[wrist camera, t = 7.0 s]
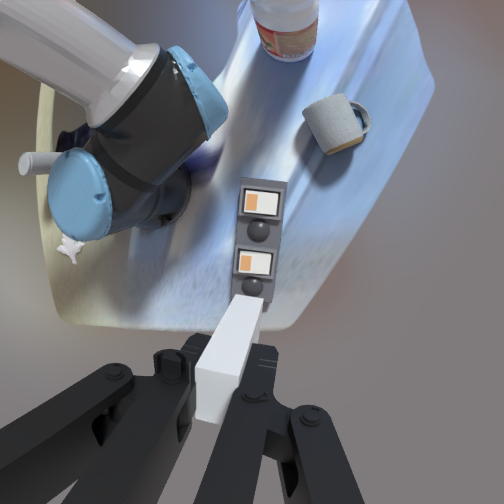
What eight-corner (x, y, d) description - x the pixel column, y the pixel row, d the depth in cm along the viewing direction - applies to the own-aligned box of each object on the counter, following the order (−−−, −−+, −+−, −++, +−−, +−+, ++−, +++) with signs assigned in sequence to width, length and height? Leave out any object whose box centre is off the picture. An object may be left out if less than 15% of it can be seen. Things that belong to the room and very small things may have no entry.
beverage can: (54, 171, 53) (16, 174, 41) (57, 151, 52) (20, 150, 40) (66, 175, 53) (27, 177, 41) (70, 154, 51) (31, 153, 40)
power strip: (235, 289, 52) (229, 299, 48) (245, 177, 47) (240, 177, 43) (273, 295, 52) (270, 305, 47) (287, 182, 46) (286, 182, 42)
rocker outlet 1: (244, 210, 44) (244, 211, 43) (246, 190, 43) (246, 190, 42) (275, 214, 44) (275, 215, 43) (277, 193, 43) (278, 193, 42)
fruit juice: (305, 70, 41) (307, -32, 14) (254, 55, 42) (209, -46, 15) (322, 32, 38) (334, -75, 12) (273, 17, 39) (247, -88, 12)
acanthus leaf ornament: (60, 249, 58) (54, 251, 57) (67, 225, 56) (61, 227, 55) (78, 267, 58) (73, 269, 56) (86, 243, 56) (81, 245, 55)
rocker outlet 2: (238, 270, 46) (238, 272, 45) (240, 250, 45) (240, 252, 44) (268, 272, 47) (268, 274, 46) (270, 253, 46) (271, 255, 45)
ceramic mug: (323, 159, 45) (328, 155, 37) (300, 116, 43) (301, 105, 36) (377, 136, 42) (391, 128, 35) (354, 94, 41) (364, 80, 34)
